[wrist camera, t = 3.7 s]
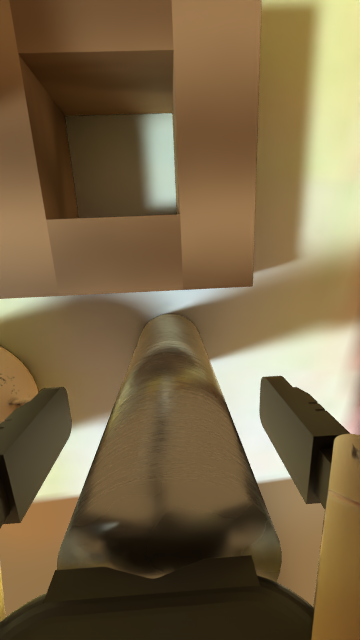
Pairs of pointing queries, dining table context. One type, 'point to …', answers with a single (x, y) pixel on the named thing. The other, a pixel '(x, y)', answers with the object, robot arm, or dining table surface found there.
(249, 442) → the dining table surface
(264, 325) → the dining table surface
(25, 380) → the teacup with lid
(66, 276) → the socket block
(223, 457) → the metal pin
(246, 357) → the dining table surface
